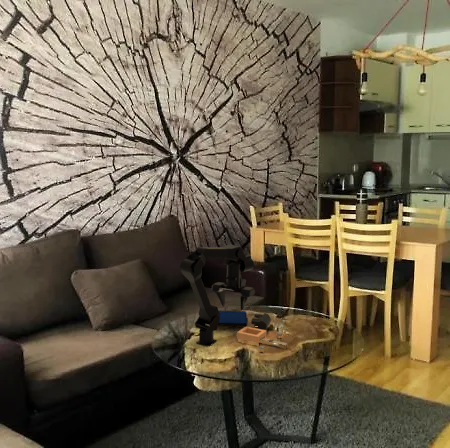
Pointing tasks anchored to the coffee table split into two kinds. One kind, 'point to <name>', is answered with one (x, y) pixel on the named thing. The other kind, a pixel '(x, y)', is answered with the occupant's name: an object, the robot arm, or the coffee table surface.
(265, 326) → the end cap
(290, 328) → the coffee table surface
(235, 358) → the coffee table surface
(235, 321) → the handheld game console
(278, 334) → the rail
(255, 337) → the collar
